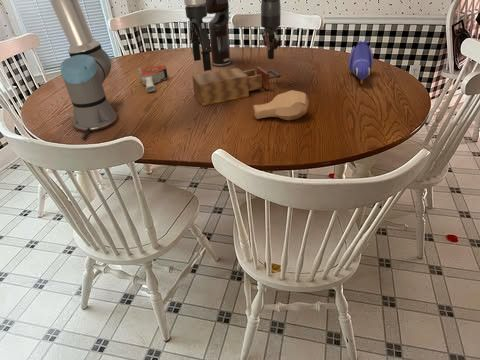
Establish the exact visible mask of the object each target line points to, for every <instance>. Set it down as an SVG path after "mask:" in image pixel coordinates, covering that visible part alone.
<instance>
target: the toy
mask: <svg viewBox="0 0 480 360" xmlns="http://www.w3.org/2000/svg"><path fill="white" fill-rule="evenodd" d="M369 43H370V41H368V40H364V41H362V40H359V41H357V44H356V45H354V46H353V47H352V49H351V50H350V53H349V57H348V64H347V65H348V70H349V71H350V72H351V73H352V74H353V75H354V76H355V77H356V78H358V80H359V81H360V85H363V83H364V80H365V79H367V78H368V77H369V76H370V74H371V70H372V68H373V64H374V57H373V51H372V47H371V45H368V44H369Z"/></svg>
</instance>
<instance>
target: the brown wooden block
mask: <svg viewBox="0 0 480 360" xmlns="http://www.w3.org/2000/svg"><path fill="white" fill-rule="evenodd" d="M243 71H244V70H241V68H239V67H233V68H229V69H224V70H218V71H212V72H207V73H202V74H195V75H192V76H191V78H192V85H193V92H194V97H195V99H196V100H197V101H198V102H199V103H200V105H201V106H208V105H213V104H218V103H221V102H226V101H231V100H232V101H233V100H237V99H240V98H241V99H242V98H247V97H249V96H250V91H249V87H248V75H246V74H245V73H244V72H243Z"/></svg>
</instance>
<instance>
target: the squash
mask: <svg viewBox="0 0 480 360" xmlns="http://www.w3.org/2000/svg"><path fill="white" fill-rule="evenodd" d="M309 104H310V101H309V98H308V95H307V93H305V92H303V91H298V90H293V89H291V90H288V91H285V92H283V93H279V94H277V95H276V96H275V97H273V99H272V100H271V101H269V102H266V103H262V104H254V105H253V107H252V110H253V112H254V115H253V116H254V117H255V119H256V120H259V119H263V118H269V117H270V118H271V117H272V118H279V119H280V120H285V121H293V120H298V119H300V118H302V117H303V116H305V115H306V114H307V112H308V108H309Z"/></svg>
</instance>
